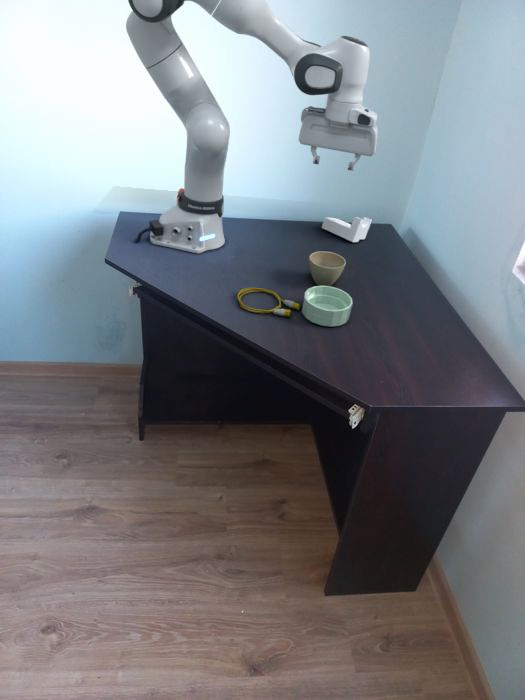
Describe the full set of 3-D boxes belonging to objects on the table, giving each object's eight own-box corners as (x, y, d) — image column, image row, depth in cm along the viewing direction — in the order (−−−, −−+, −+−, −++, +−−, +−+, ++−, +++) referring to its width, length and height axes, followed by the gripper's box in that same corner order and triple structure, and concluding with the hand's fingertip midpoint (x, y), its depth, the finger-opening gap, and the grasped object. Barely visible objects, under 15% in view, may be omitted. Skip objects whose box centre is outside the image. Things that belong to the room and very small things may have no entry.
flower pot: (340, 276, 154) (345, 253, 150) (341, 293, 146) (346, 270, 142) (306, 271, 154) (310, 248, 150) (305, 288, 146) (309, 265, 142)
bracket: (363, 242, 177) (372, 220, 174) (352, 242, 172) (361, 219, 168) (332, 228, 184) (340, 206, 180) (321, 227, 178) (328, 205, 175)
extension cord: (268, 327, 129) (269, 320, 128) (227, 298, 138) (228, 291, 136) (303, 312, 136) (304, 305, 135) (262, 285, 145) (263, 279, 144)
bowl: (301, 324, 131) (304, 307, 128) (301, 299, 141) (304, 283, 138) (349, 330, 131) (354, 313, 128) (346, 305, 141) (350, 288, 138)
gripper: (300, 107, 134) (292, 163, 142) (381, 120, 130) (369, 177, 139) (305, 102, 139) (298, 156, 147) (383, 115, 135) (371, 170, 144)
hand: (333, 166), depth 143 cm, fingers open, 8 cm apart
